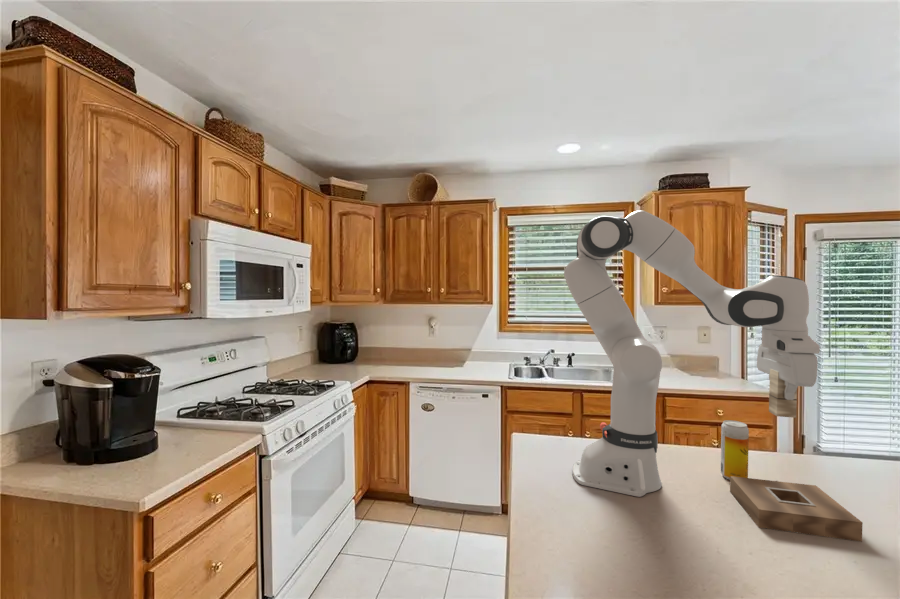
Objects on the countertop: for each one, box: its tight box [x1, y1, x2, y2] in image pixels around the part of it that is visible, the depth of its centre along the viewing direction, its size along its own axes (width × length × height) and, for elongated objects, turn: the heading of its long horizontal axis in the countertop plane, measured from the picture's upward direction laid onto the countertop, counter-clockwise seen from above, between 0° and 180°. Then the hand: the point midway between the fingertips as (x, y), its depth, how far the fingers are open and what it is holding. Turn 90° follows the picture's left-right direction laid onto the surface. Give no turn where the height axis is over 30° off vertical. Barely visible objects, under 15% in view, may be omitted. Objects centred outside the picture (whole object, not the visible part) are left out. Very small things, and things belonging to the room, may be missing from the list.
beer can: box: [720, 419, 750, 481], centre depth 110 cm, size 6×6×15 cm
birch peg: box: [768, 369, 798, 419], centre depth 101 cm, size 4×4×11 cm
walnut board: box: [729, 476, 863, 543], centre depth 92 cm, size 18×16×4 cm
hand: (782, 396), depth 101 cm, fingers closed on birch peg, 4 cm apart
